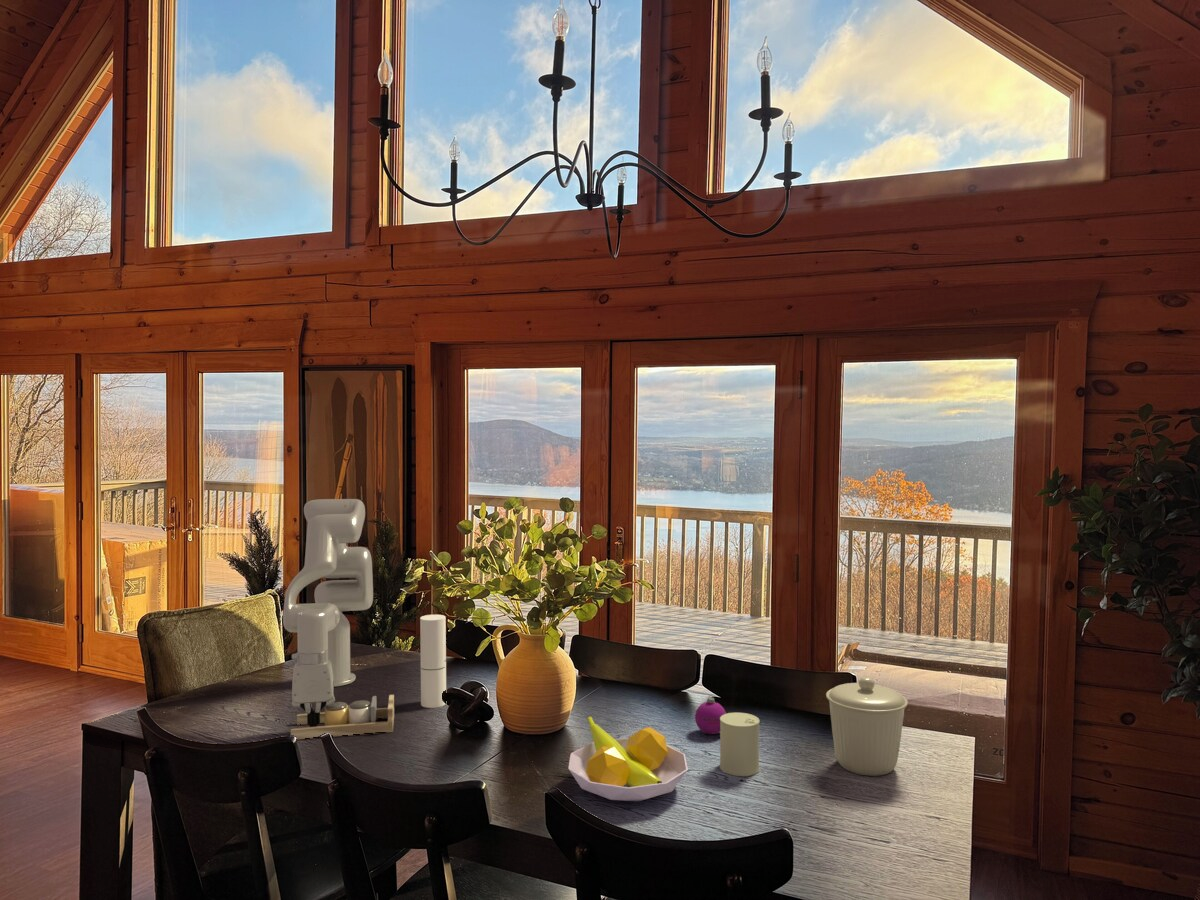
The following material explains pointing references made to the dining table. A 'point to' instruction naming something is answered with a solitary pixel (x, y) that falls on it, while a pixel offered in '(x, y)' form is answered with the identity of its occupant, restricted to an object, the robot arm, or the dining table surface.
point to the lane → (347, 725)
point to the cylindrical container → (433, 660)
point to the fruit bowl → (627, 765)
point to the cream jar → (359, 712)
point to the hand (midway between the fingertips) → (313, 726)
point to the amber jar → (336, 714)
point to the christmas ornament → (709, 716)
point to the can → (739, 744)
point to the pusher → (374, 709)
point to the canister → (866, 726)
